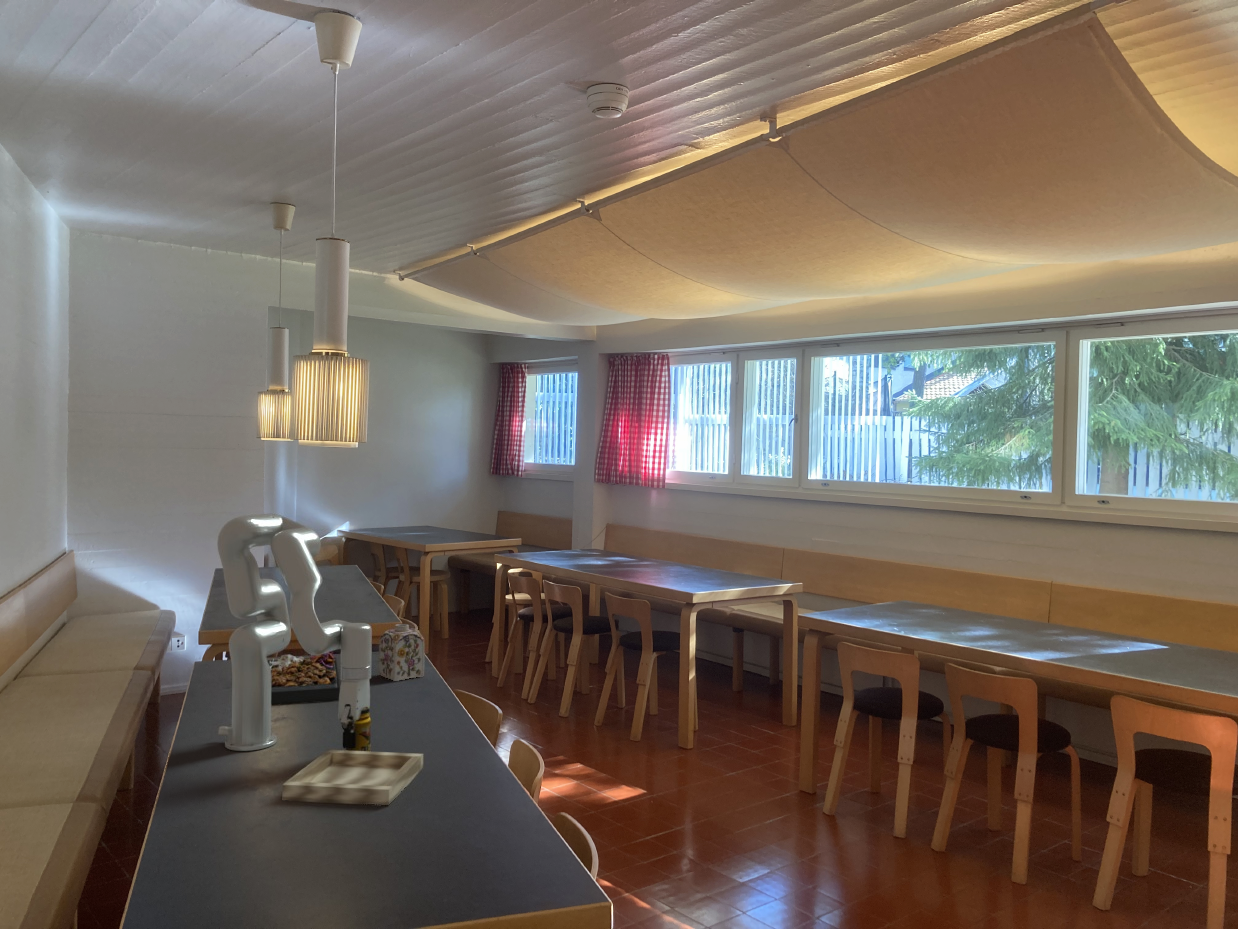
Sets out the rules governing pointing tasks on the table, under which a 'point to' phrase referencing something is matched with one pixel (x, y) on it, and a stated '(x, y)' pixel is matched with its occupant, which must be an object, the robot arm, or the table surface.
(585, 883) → the table surface
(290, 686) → the food platter
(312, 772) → the tray
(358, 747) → the condiment
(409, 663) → the decorative jar
